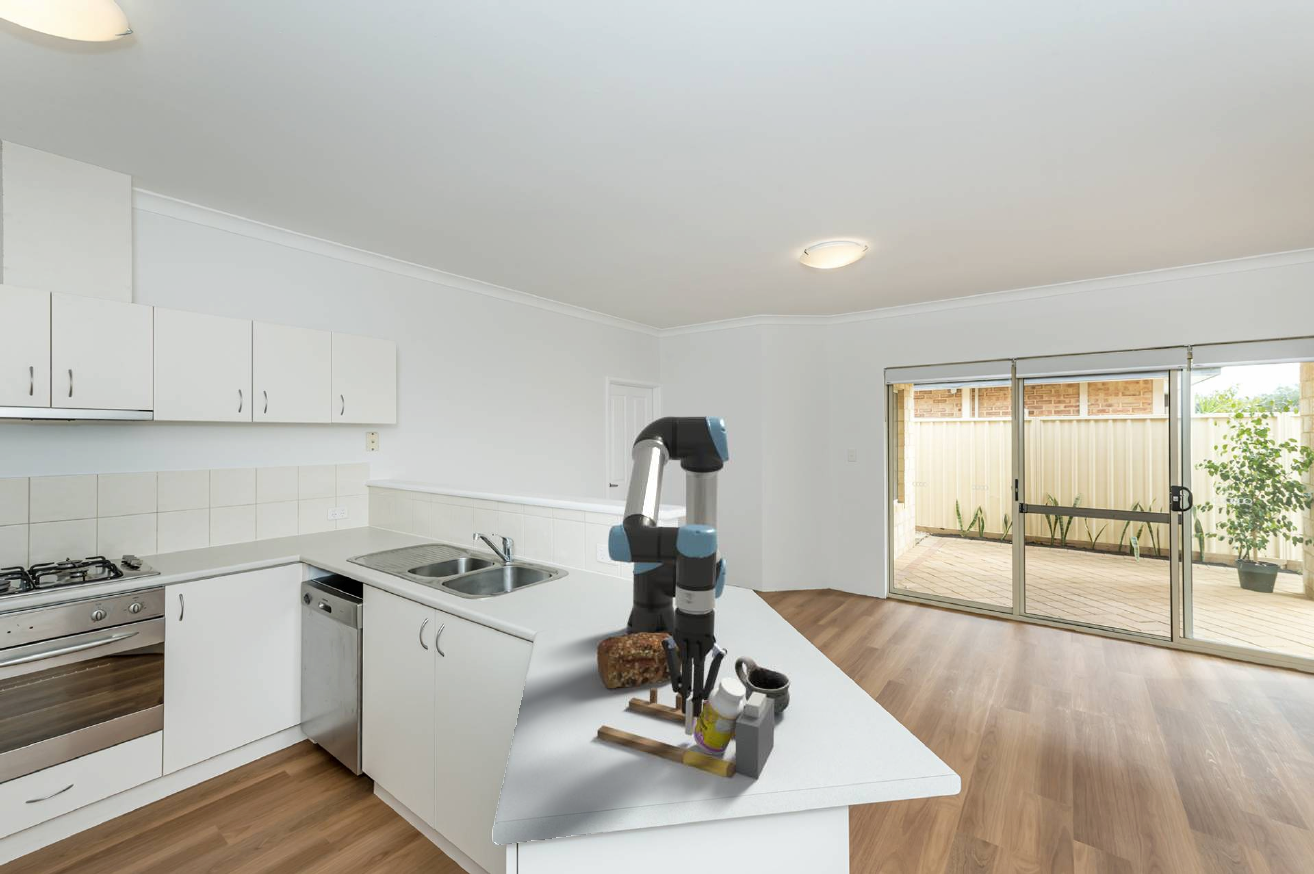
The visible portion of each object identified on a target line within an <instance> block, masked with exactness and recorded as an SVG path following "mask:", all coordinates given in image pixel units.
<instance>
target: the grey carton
mask: <svg viewBox="0 0 1314 874" xmlns="http://www.w3.org/2000/svg"><path fill="white" fill-rule="evenodd" d="M774 737H775V715H774V699H772V698H768V697H766V694H762V693H758V692H753V693H752V695H751V696H750V698H749V699H748V701H747V700H746V703H745V706H744V709H743V712H742V713H741V715H740V716H739V718H738V719H737V721H736V737H735V757H734V758H735V759H734V762H733V763H734V764H735V774H737V775H741V776H744V777H748V778H752V779H754V780H759V778H760V776H761V774H762V772H763V769H764V767H765V765H766V763H767V761H768V759H769V757H770V755H771V752H772V751H773V749H774V743H775V741H774V739H775V738H774Z"/></svg>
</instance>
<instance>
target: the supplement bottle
mask: <svg viewBox="0 0 1314 874" xmlns="http://www.w3.org/2000/svg"><path fill="white" fill-rule="evenodd" d="M745 695H746V688H745V686H744V685H743V684H742V682H741V681H740V680H737V679H735V678H733V677H729V676H728V677H723V678H722V679H721V680H720V682H719V684H718V686H717V687H714V689H713V690H712V691H711V692H710V694H709V696H708V699H707V701H706V704H705V706H704V708H703V707H702V713H701V714H700V718H699V720H698V722H697V724H696V727H695V730H694V733H693V739H694V741H695V742H696V745H697V746H698V747H699V748H700V749H701V750H702V751H704V752H705V753H707V754H710V755H716V756H717V755H721V754H723V753H725V752H726V750H727V748H728V746H729V744H730V741H731V739H732V738H733V736H732V735H733V733H734V731H735V728H736V721H737V719H738V718H739V716H740V715H741V713H742V712H743V710H744V708H745V706H744V701H743V699H744V696H745Z"/></svg>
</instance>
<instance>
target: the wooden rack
mask: <svg viewBox="0 0 1314 874" xmlns="http://www.w3.org/2000/svg"><path fill="white" fill-rule="evenodd" d="M706 701H707V700H702V709H703V708H704V706H705V704H706ZM628 709H629V710H633V711H637V712H641V713H644V714H649V715H652V716H656V717H659V718H663V719H667V720H670V721H674V722H679V723H682V724H685V723H686V714H683V713H682V696H681V695H680V694H679V693H677V694H676V695H675V707H672V706H668V705H664V704H661V703H658V688H657V687H654V686H653V687H651V688H650V689H649V700H645V699H641V698H637V697H632V698H631V699H630V700H628ZM699 718H700V716H699V717H697V722H698V720H699ZM596 731H597V736H596V737H597V739H600V740H603V741H605V742H609V743H613V744H616V745H619V746H623V747H627V748H629V749H633V750H635V751H639V752H642V753H646V754H648V755H652V756H655V757H659V758H661V759H666V760H669V761H673V762H676V763H679V764H683V766H688V767H691V768H694V769H697V770H701V771H704V772H707V773H711V774H713V775H718V776H721V777H723V778H729V779H733V777H734V776H735V774H736V773H735V764H734V762H731V761H728V760H726V759H721V758H718V757H715V756H712V755H708V754H705V753H701V752H698V751H694V750H691V749H686V748H683V747H680V746H677V745H673V744H669V743H666V742H662V741H659V740H655V739H652V738H648V737H644V736H641V735H638V734H634V733H632V732H627V731H625V730H624V731H623V730H620V729H617V728H614V727H610V726H607V725H602V726H600V727H599V729H597V730H596ZM732 737H734V738H736V728H735V731H734V733H733V735H732Z"/></svg>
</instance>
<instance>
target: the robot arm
mask: <svg viewBox="0 0 1314 874" xmlns="http://www.w3.org/2000/svg"><path fill="white" fill-rule="evenodd" d="M632 445H633V446H632V450H631V457H632V461H633V466H632V471H631V475H630V481H629V486H628V491H627V498H626V503H625V509H624V513H623V514H624V515H623V518H622V524H619V525H617V524H616V525H613V526H611V527H610V529H609V532H608V540H607V543H608V544H607V547H608V548H607V549H608V550H607V551H608V555H609V558H610V559H611V560H612V561H613V562H620V563H628V564H631V563H633V569H632V573H633V587H632V589H633V590H632V591H633V594H632V596H633V597H632V600H633V601H632V608H631V611H630V614H629V617H628V620H627V623H626V633H627V635H630V634H633V633H634V634H635V633H643V632H647V633H668V634H669V635H670V636H671V637H667V638H666V639H664V640H663V641H662V642H661V645H662V647H663V649H664V651H665V653H666V658H667V663H668V668H669V673H670V679H669V680H670V684H671V688H672V689H671V690H672V692H673V693H677V694H680V695H681V696H682V713H683V714H686V723H684V724H685V725H684V726H685V727H684V728H685V729H684V735H687V736H693V735H694V730H695V727H696V724H697V717H699V716H700V715H701V713H702V710H703V701H704V700H707V699H708V696H709V694H710V692H711V691H712V690H713V689H714V688H715V685H716V681H717V678H718V674H719V671H720V668H721V663H722V661H723V659H724V658H725V657H726V655H727V654H728V650H727V649H726V648H721V646H719V645H718V644H717V639H716V637H715V614H716V613H715V610H714V608H716V600H717V599H719V598H721V596H722V594H723V591H724V588H725V583H726V571H727V560H726V558H725V557H722V553H721V551H720V550H719V549H718V546H719V545H718V541H717V540H718V537H717V536H718V535H717V534H718V533H717V528H718V527H717V525H718V524H717V521H718V520H717V519H718V478H719V477H718V476H719V475H718V473H719V472H720V471H722V470H723V469H724V463H726V462H729V460H730V453H729V446H728V437H727V427H726V421H725V420H724V419H723V418H721V417H712V416H711V417H710V416H664V417H661V418H658V419H656V420H654V421H652V422H651V423H649V424H648V425H647V426H645V427H644V428H643V429H642V431H641V432H640V433H639V434H638V436H637V437H636V439H635V441H634V443H633V444H632ZM669 461H680V463H679V464H680V468H681V469H682V470H683V471H684V472H685V525H682V526H658V520H659V519H658V518H659V511H660V504H661V503H660V502H661V493H662V486H663V476H664V467H665V466H666V465H667V464H668V462H669ZM674 598H675V601H674ZM674 602H675V603H674ZM674 605H675V607H676V608H674ZM676 645H677V647H678V649H679V651H680V652H681V662H682V666H681V667H682V669H681V670H680V665H679V660H678V654H677V650H676ZM711 651H712V653H711V657H712V660H711V662H710V666H709V670H708V673H707V676H706V680H705V662H706V659H707V655H708V654H709V653H710V652H711ZM704 682H705V683H704Z"/></svg>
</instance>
